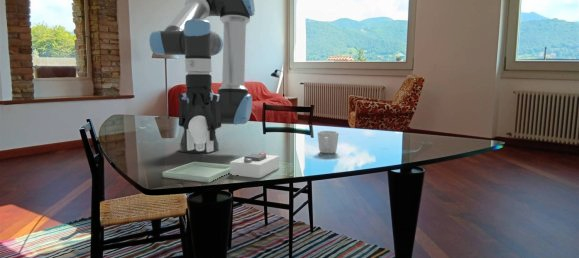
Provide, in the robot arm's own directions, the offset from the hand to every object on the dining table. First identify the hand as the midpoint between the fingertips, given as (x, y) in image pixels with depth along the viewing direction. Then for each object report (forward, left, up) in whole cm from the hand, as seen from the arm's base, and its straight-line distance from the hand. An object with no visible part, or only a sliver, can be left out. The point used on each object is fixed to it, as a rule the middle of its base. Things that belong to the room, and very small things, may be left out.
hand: (200, 150), depth 127 cm
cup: (+26, +46, -7) cm, 54 cm away
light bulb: (0, 0, -1) cm, 1 cm away
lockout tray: (0, 0, -7) cm, 7 cm away
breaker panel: (+14, +9, -7) cm, 18 cm away
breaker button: (+14, +9, -6) cm, 18 cm away
